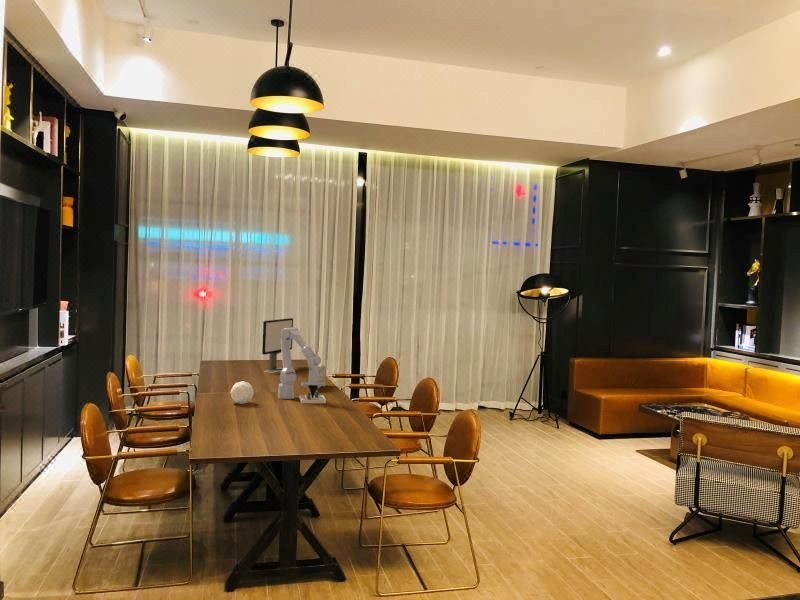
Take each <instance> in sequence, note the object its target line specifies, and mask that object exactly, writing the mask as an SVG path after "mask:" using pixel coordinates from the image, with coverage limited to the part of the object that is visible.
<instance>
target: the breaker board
mask: <svg viewBox="0 0 800 600" xmlns="http://www.w3.org/2000/svg"><path fill="white" fill-rule="evenodd" d="M325 397H326V396H324V394H319V396H318V398H315V396H314V398H312V397H311V399H307V394H299V395H298V398H299V401H300V403H301V404H327V399H326V398H325Z"/></svg>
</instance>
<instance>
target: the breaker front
mask: <svg viewBox="0 0 800 600" xmlns="http://www.w3.org/2000/svg"><path fill="white" fill-rule="evenodd" d="M306 395H307V399H311V392H307V393H306Z"/></svg>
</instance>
